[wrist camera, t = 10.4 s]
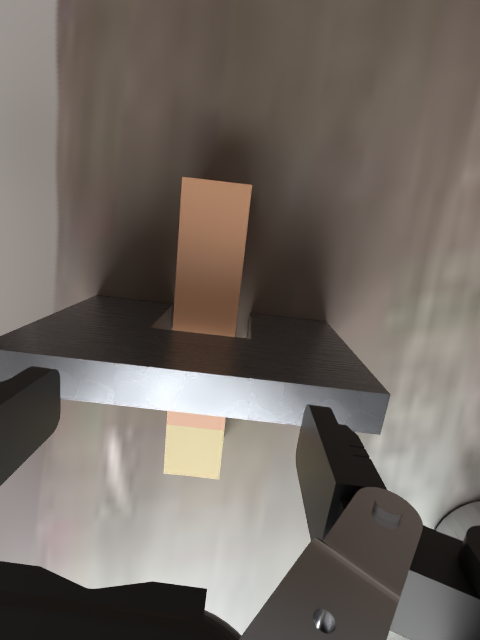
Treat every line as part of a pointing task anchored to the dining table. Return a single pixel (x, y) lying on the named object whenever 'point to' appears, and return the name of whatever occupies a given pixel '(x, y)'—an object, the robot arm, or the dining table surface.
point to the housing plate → (198, 364)
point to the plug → (206, 304)
